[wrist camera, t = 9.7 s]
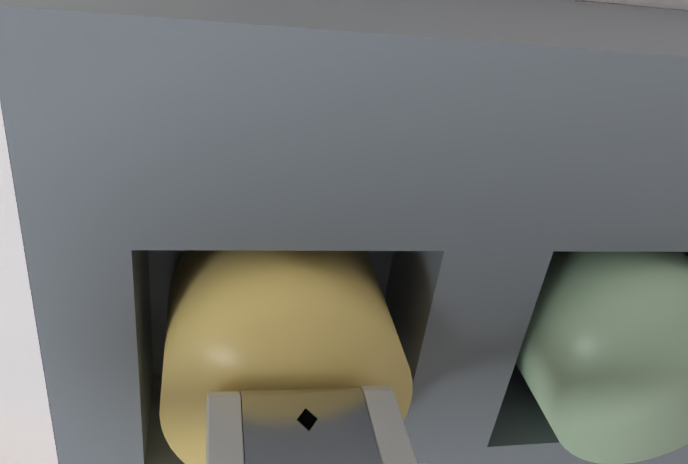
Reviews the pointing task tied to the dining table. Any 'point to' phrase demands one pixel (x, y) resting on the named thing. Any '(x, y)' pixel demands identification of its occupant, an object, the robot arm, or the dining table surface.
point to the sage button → (611, 353)
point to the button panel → (335, 182)
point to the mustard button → (272, 332)
